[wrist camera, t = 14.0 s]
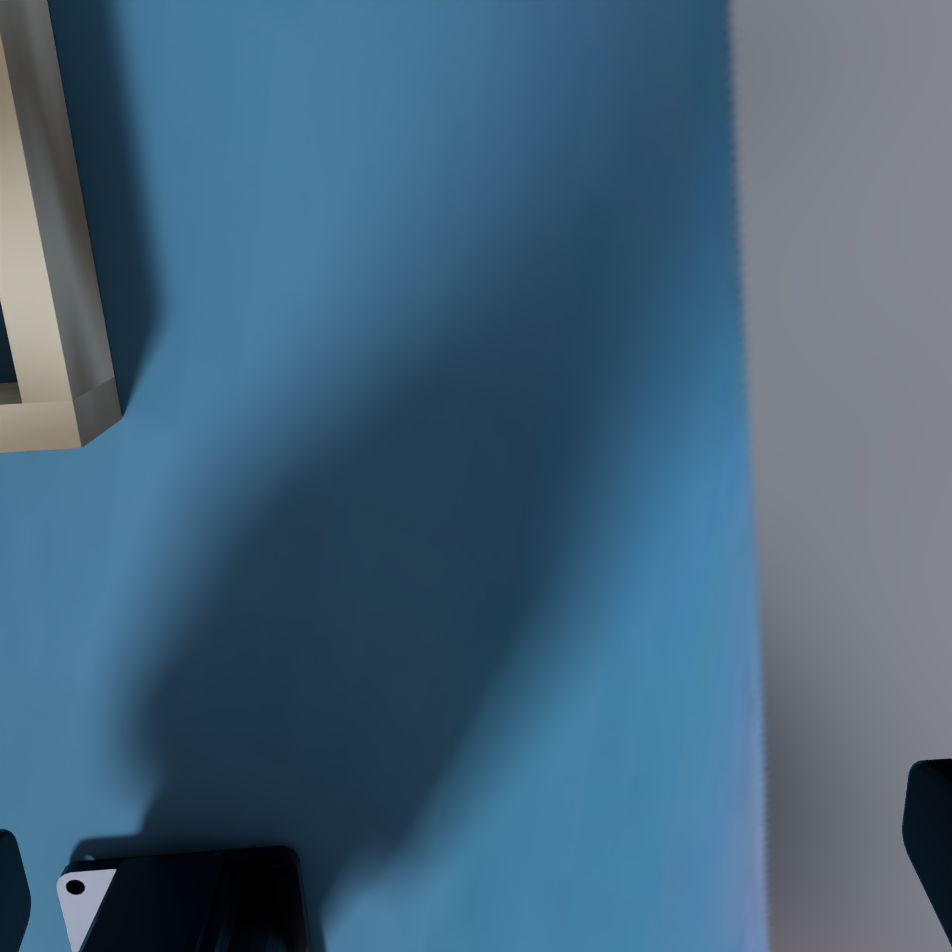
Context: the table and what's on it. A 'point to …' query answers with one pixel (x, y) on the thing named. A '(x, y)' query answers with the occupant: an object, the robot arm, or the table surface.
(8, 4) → the birch frame
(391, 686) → the table surface
